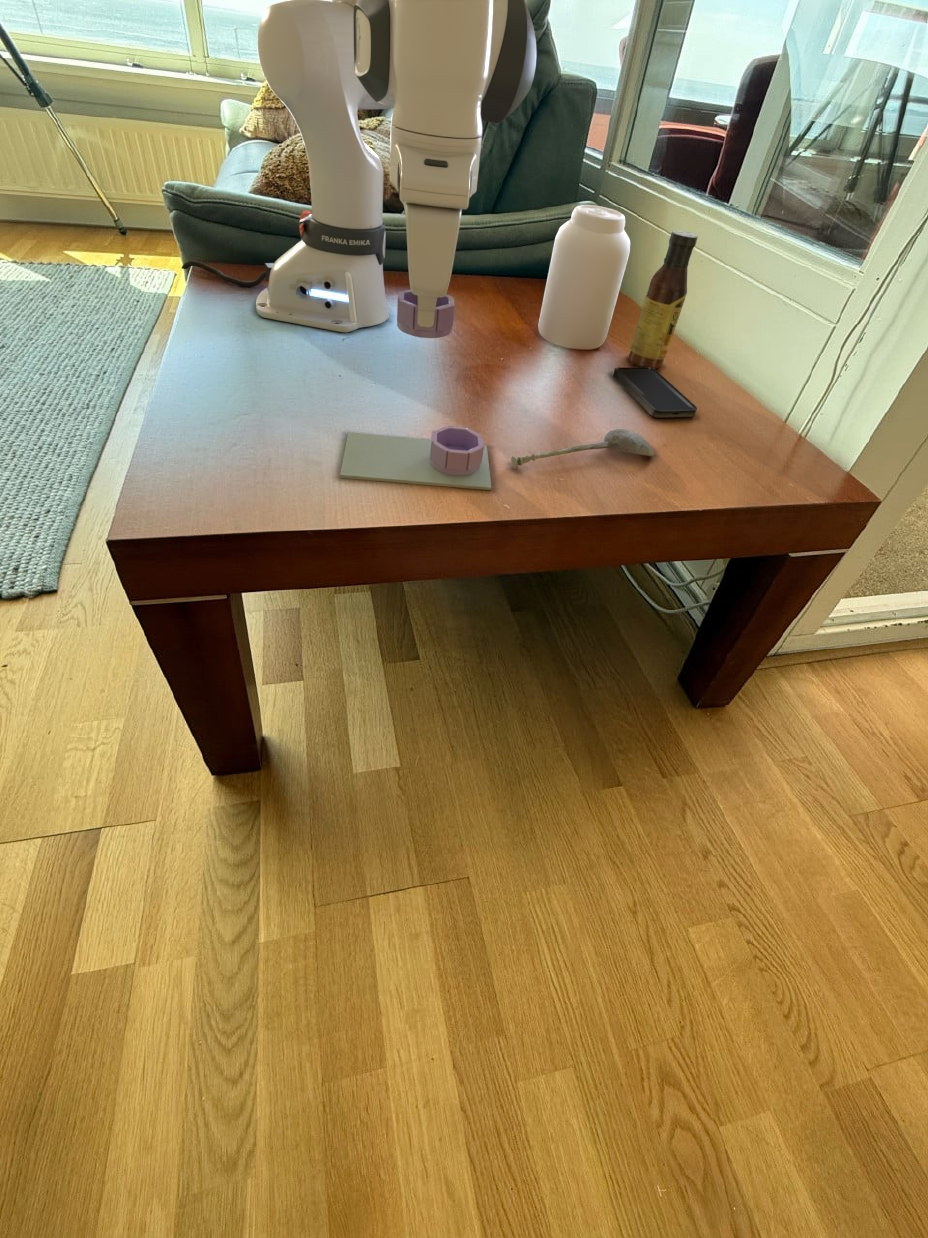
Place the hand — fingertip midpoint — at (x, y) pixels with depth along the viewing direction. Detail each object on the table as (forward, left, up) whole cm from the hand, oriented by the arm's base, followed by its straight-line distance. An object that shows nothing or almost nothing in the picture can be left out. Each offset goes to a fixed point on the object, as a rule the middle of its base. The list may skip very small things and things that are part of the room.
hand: (425, 312), depth 72 cm
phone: (+37, +20, -16) cm, 45 cm away
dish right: (+5, -6, -15) cm, 17 cm away
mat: (0, -6, -16) cm, 17 cm away
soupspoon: (+22, -2, -16) cm, 27 cm away
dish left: (0, 0, -2) cm, 2 cm away
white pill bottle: (+27, +41, -16) cm, 51 cm away
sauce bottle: (+39, +33, -16) cm, 53 cm away
